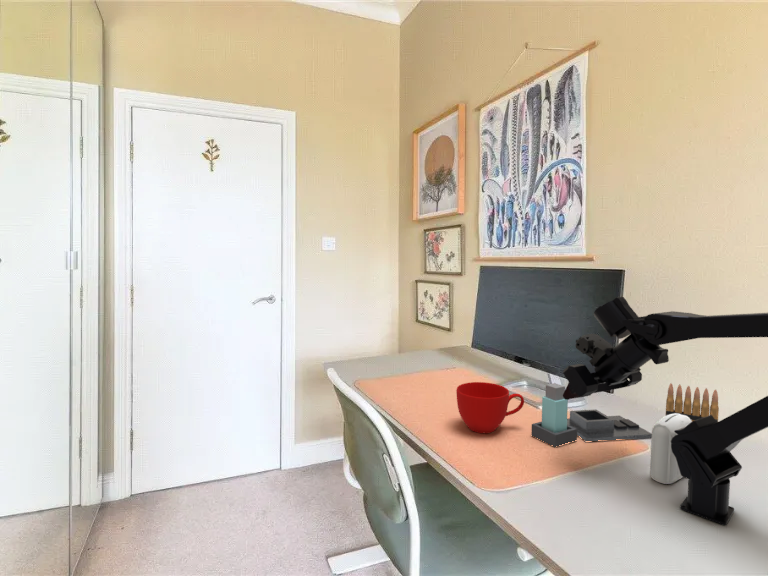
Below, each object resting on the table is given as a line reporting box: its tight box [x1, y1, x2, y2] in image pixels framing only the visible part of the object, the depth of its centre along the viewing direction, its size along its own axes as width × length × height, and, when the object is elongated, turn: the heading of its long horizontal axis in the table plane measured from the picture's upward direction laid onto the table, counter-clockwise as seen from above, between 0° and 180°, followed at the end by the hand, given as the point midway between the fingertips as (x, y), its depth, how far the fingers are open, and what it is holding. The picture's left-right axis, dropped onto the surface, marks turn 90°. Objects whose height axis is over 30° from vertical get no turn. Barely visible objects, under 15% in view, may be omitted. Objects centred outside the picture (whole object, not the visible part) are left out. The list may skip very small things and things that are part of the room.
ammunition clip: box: [664, 382, 720, 422], centre depth 107 cm, size 11×2×12 cm, turn 55°
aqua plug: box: [541, 382, 569, 433], centre depth 105 cm, size 4×4×13 cm
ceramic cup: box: [455, 381, 525, 434], centre depth 111 cm, size 13×17×10 cm
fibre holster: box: [530, 421, 578, 448], centre depth 105 cm, size 7×7×3 cm
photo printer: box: [649, 413, 692, 485], centre depth 87 cm, size 10×4×12 cm, turn 123°
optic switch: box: [567, 409, 652, 442], centre depth 110 cm, size 12×17×4 cm
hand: (578, 394), depth 98 cm, fingers open, 9 cm apart
